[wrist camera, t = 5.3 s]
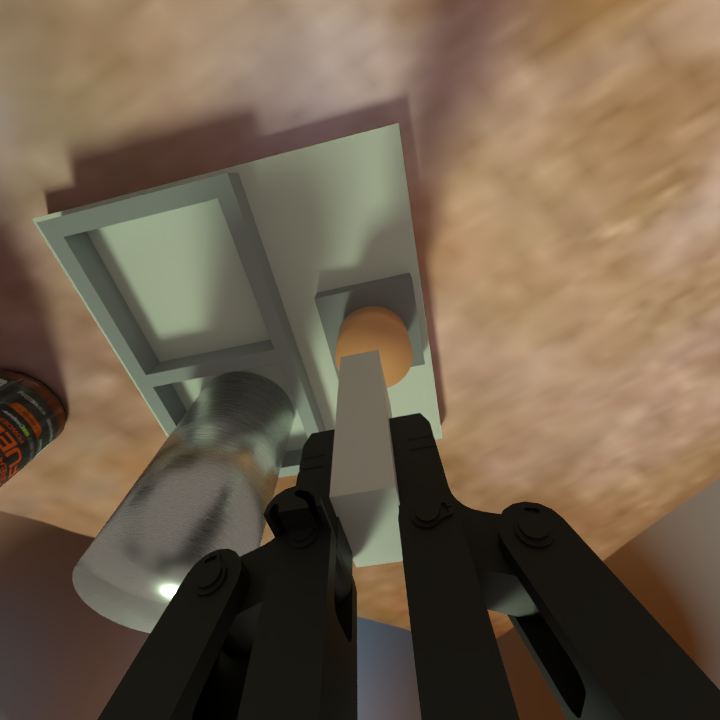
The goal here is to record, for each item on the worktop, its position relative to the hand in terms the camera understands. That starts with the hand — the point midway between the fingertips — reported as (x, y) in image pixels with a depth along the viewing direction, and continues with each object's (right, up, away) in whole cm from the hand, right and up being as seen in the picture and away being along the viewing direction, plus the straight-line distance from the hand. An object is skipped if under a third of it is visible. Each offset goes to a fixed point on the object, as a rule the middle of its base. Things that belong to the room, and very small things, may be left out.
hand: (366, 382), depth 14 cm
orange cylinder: (0, +2, +4) cm, 4 cm away
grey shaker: (-8, -2, +9) cm, 12 cm away
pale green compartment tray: (-5, +2, +7) cm, 9 cm away
